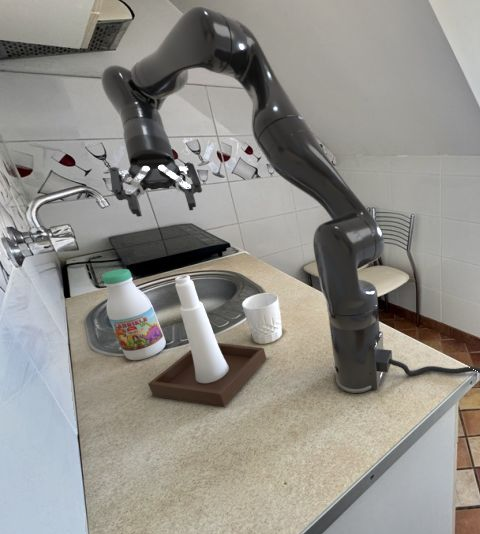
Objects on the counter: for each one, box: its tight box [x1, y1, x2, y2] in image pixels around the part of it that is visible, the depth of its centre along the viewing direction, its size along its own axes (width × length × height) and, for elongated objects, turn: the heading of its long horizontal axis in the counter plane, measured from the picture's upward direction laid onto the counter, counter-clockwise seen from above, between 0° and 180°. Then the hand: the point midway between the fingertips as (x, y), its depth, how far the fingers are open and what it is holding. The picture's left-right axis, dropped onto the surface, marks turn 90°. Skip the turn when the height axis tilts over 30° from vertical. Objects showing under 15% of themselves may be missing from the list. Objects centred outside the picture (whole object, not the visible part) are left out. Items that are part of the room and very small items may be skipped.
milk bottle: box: [101, 268, 167, 361], centre depth 71 cm, size 8×8×20 cm
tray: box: [147, 342, 267, 408], centre depth 66 cm, size 16×14×3 cm
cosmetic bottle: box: [174, 274, 229, 383], centre depth 62 cm, size 6×6×22 cm
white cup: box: [241, 292, 283, 345], centre depth 78 cm, size 8×8×10 cm
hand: (165, 211), depth 63 cm, fingers open, 8 cm apart
